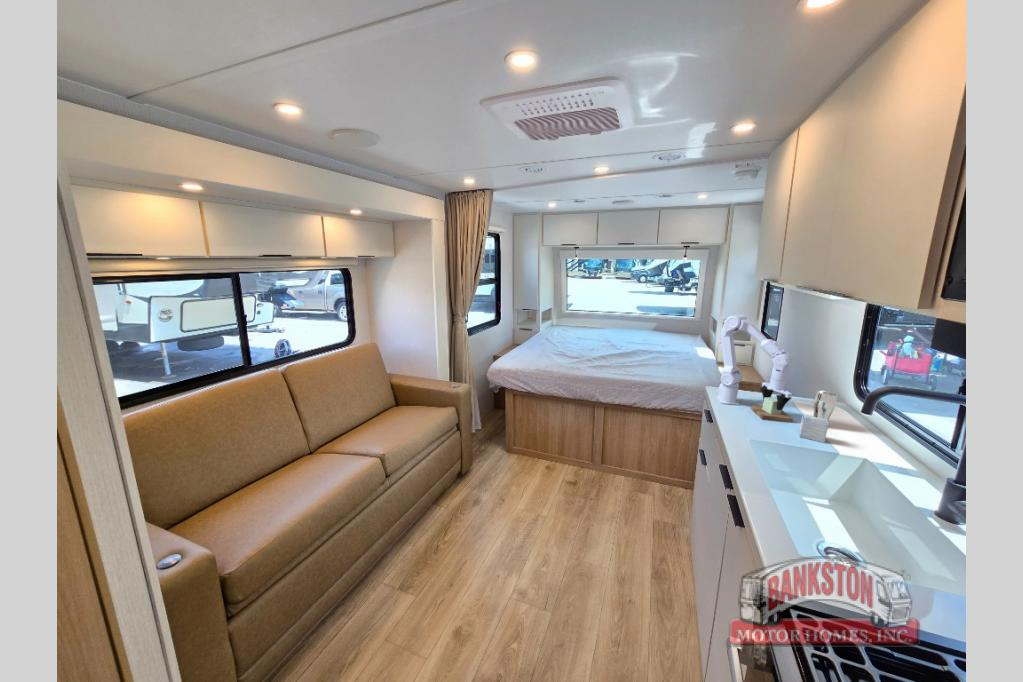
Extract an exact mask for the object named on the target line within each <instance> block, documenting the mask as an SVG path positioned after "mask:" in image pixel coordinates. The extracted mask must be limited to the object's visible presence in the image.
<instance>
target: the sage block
mask: <svg viewBox="0 0 1023 682" xmlns="http://www.w3.org/2000/svg"><path fill="white" fill-rule="evenodd" d="M762 406H763V407H762V410H764V411H766V412H768V413H770V414H781V410H777V397H772V396H771V397H764V401H763V403H762Z"/></svg>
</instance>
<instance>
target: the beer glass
mask: <svg viewBox="0 0 1023 682" xmlns="http://www.w3.org/2000/svg"><path fill="white" fill-rule="evenodd" d="M837 399H838V394H837V393H834V392H833V391H829V390H822V389H819V390H817V392H816V394H815V397H814V402H813V417H817V418H822V419H827V421H828V423H829V424H830V418H831V415H832V414H833V412H834V410H835V408H836V404H837Z"/></svg>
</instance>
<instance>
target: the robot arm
mask: <svg viewBox="0 0 1023 682" xmlns="http://www.w3.org/2000/svg"><path fill="white" fill-rule="evenodd" d="M738 331H742V332H743V331H744V332H747V333H748V334H749V335H750V336H752V338H754V339H755V340H756V341H757V342H758V343H759V344H760V348H761V350H763V352H764V353H765V354H767V356H769V358H771V361H772V364H773V367H772V370H771V375H770V379H769V382H765V381H763V382H762V383H761V387H760V391H761V393H762V398H763V402H764V397H772V396H773V393H774V392H775V393H777V394H776V398H777V410H783V409H784V407H785V405H787V403H788V402H789V401H791V399H792V395H793V394H792V392H789V390H786V388H785V387H786V385H787V379H788V374H789V369H790V364H791V363H792V362H793V356H792V354H791V353H790V352H788V351H786V350H785V349H783V348H782V347H781V346H780V345H779V344H778V342H777V340H774V339H772V338H771V339H768V338H767V337H766V336H765V335H764V333H762V332H761V330H760V329H759V328H758V327H756V325H755V324H754V323H753V322H752V320H751V319H750V318H748V317H747V316H746V315H745V314H738V315H737V314H736V315H731V316H728V317H727V318H726V319H725V320H724V321H723V325H722V328H721V329H720V340H721V341H720V342H721V350H722V351H721V352H722V358H723V366H724V367H723V368H722V370H721V376H720V382H721V383H720V384H719V387H718V392H717V395H715V398H716V399H717V400H718V401H719V402H720V404H723V405H733V406H739V405H740V404H739V402H738V401H737V398H738V393H739V386H740V384H739V383H741V382H742V380H743V375H742V373H741V371H740V367H738V364H737V356H736V349H735V346H736V345H735V340H734V339H735V337H734V334H735V333H737V332H738Z"/></svg>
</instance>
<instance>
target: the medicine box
mask: <svg viewBox="0 0 1023 682" xmlns="http://www.w3.org/2000/svg"><path fill="white" fill-rule="evenodd" d="M829 425H830V422H829V423H828V421H827V419H822V418H817V417H813V416H812V415H807V414H802V416H801V421H800V425H799V430H798V436H799V438H801V437H803V439H806V438H807V440H810V439H811V440H810V441H814V440H815V441H816V442H820V443H823V444H824V443H825V441H826V437H827V433H828V428H829V427H830V426H829ZM815 441H814V442H815Z"/></svg>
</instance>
